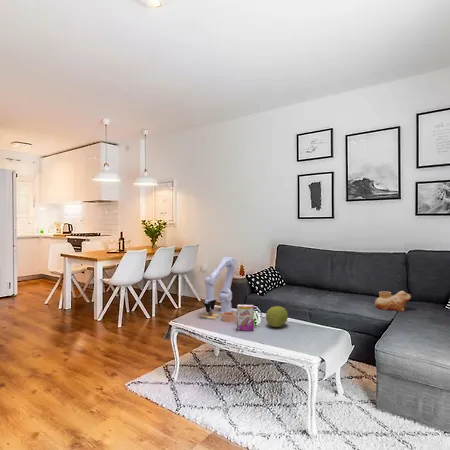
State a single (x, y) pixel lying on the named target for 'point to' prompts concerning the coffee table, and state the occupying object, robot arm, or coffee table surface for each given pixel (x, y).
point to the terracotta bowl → (228, 316)
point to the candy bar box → (245, 317)
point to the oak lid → (210, 315)
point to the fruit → (276, 316)
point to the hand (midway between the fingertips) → (210, 310)
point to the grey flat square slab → (209, 319)
